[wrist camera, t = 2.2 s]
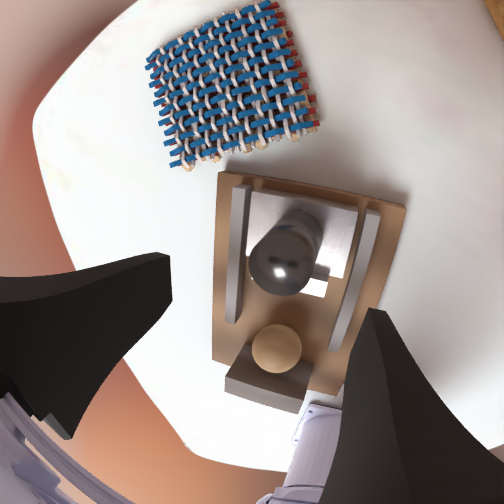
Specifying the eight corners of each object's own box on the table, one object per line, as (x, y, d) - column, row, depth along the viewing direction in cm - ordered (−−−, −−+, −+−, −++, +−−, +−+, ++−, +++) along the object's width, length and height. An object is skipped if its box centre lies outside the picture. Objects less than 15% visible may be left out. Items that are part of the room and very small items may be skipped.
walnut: (301, 355, 21) (290, 388, 18) (258, 343, 22) (242, 373, 19) (310, 321, 20) (300, 354, 16) (263, 309, 21) (246, 339, 17)
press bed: (337, 388, 23) (329, 431, 18) (216, 353, 26) (192, 388, 22) (403, 205, 15) (421, 230, 11) (224, 170, 19) (184, 182, 14)
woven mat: (327, 135, 16) (324, 135, 14) (186, 173, 20) (170, 177, 18) (281, 1, 13) (273, -11, 11) (155, 56, 17) (139, 52, 15)
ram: (339, 281, 17) (330, 338, 12) (252, 259, 19) (214, 305, 14) (357, 206, 15) (359, 240, 10) (259, 187, 17) (217, 210, 12)
